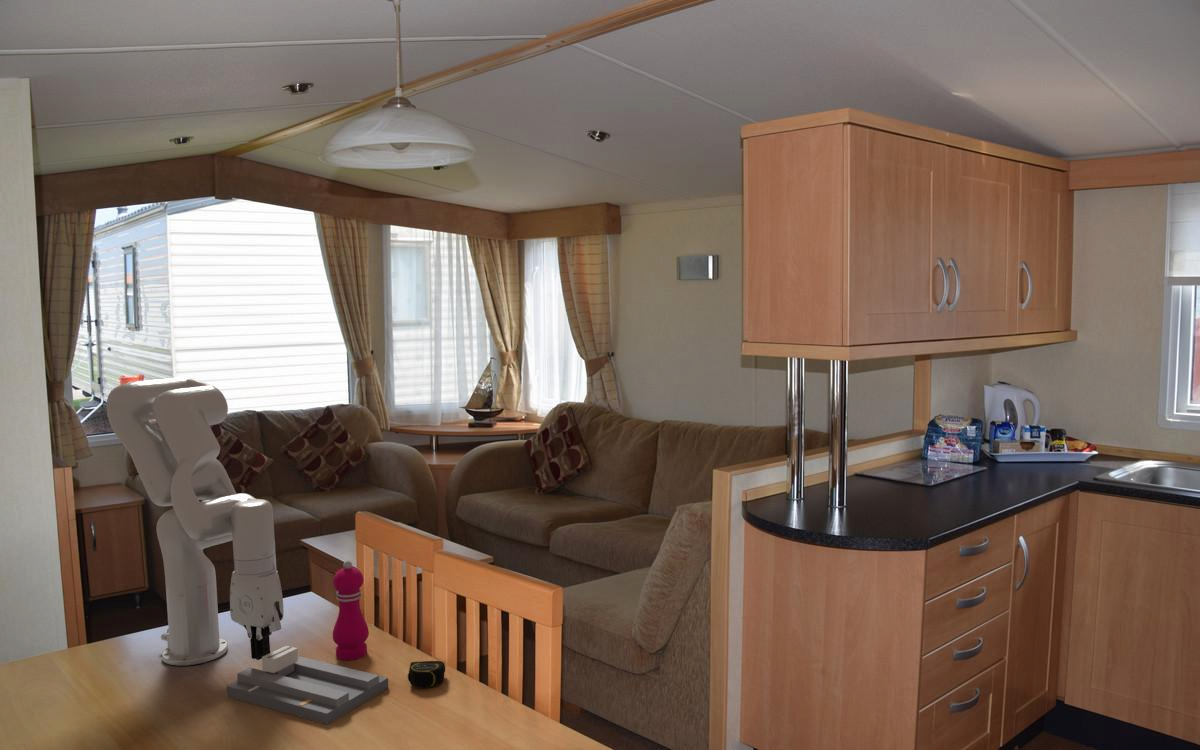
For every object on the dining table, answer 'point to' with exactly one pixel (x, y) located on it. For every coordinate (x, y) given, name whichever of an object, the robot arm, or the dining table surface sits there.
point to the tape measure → (426, 673)
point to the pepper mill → (349, 614)
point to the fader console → (308, 689)
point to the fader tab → (280, 661)
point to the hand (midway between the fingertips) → (261, 656)
